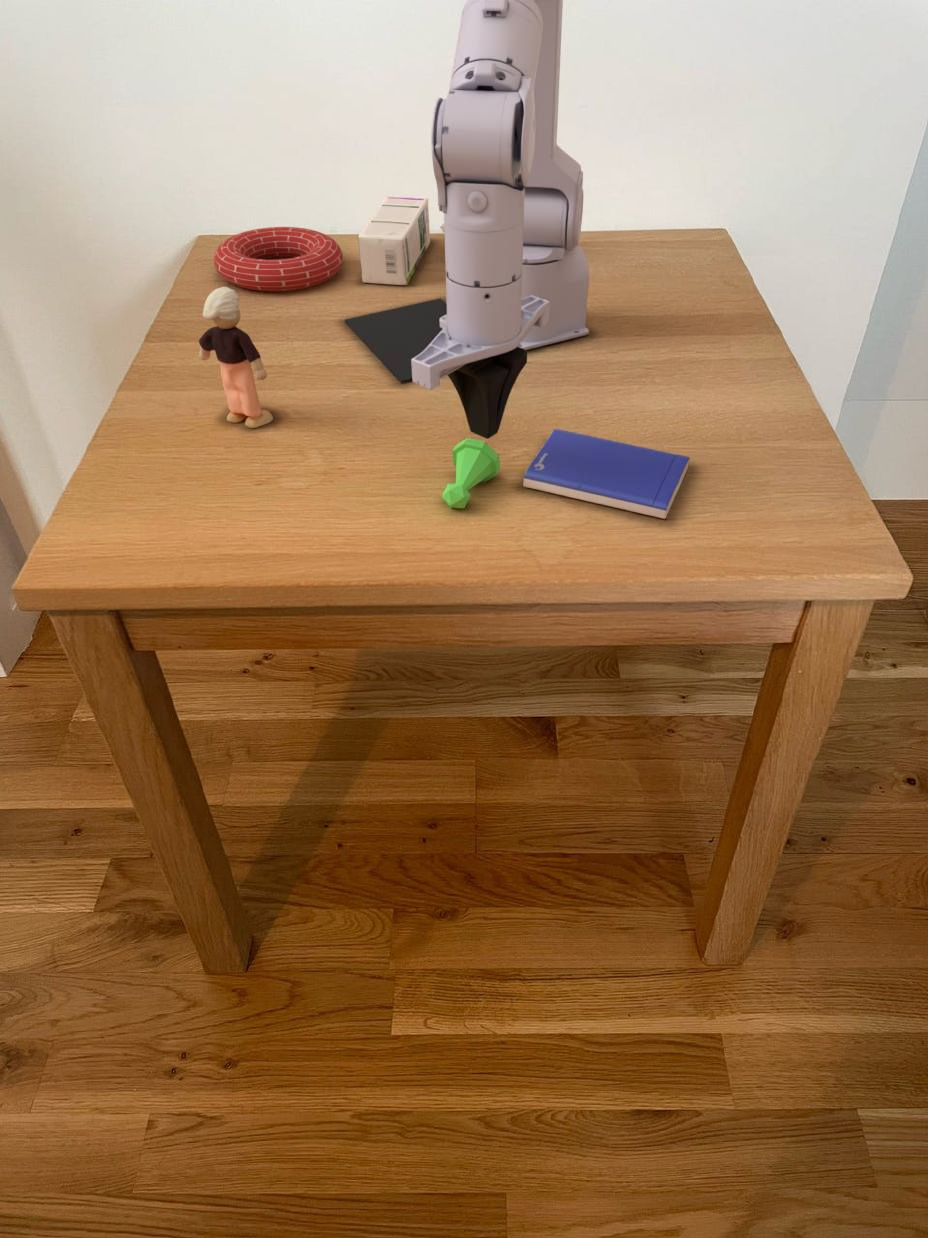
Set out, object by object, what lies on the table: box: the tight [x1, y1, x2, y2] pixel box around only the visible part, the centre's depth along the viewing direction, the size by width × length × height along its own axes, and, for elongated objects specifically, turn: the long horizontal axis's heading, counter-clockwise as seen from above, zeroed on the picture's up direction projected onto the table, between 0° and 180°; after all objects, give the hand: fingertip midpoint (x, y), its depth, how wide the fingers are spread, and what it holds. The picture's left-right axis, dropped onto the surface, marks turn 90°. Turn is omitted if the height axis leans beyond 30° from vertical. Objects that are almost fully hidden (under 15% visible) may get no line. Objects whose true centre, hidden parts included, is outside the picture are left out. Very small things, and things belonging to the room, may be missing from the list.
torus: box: [213, 226, 344, 292], centre depth 113 cm, size 16×14×4 cm
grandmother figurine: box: [198, 286, 274, 429], centre depth 84 cm, size 8×4×13 cm, turn 71°
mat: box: [344, 297, 447, 384], centre depth 100 cm, size 12×16×1 cm
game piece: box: [441, 437, 501, 509], centre depth 77 cm, size 4×4×6 cm
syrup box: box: [357, 195, 431, 286], centre depth 114 cm, size 6×6×14 cm
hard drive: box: [522, 428, 690, 520], centre depth 79 cm, size 2×8×12 cm
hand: (483, 431), depth 77 cm, fingers closed
